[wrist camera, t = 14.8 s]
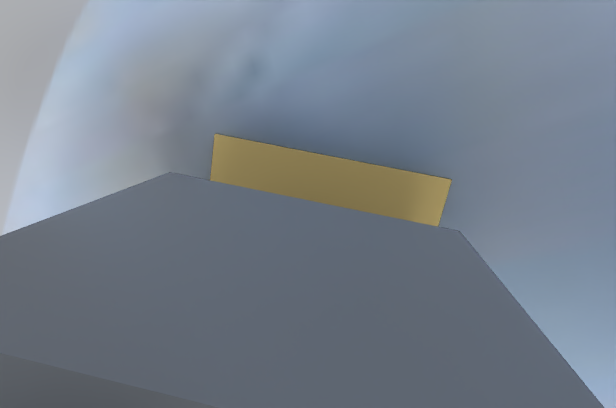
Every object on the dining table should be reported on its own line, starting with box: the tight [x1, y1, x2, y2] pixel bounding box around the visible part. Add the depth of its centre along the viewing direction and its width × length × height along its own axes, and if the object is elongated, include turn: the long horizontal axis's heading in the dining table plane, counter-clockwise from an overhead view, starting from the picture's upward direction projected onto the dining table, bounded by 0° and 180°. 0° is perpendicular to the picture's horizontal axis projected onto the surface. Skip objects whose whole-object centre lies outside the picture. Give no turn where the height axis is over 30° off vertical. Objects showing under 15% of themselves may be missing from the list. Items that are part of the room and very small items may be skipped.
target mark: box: [210, 134, 452, 227], centre depth 20 cm, size 12×12×1 cm
